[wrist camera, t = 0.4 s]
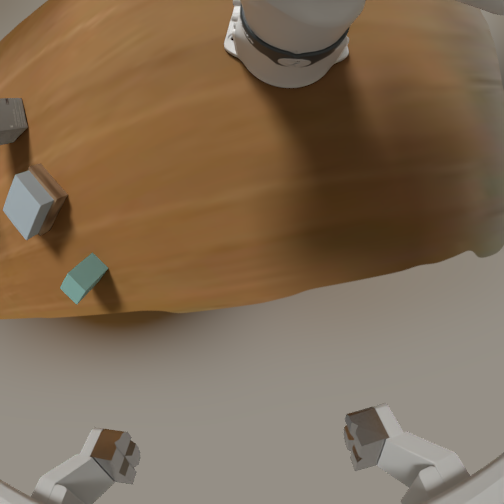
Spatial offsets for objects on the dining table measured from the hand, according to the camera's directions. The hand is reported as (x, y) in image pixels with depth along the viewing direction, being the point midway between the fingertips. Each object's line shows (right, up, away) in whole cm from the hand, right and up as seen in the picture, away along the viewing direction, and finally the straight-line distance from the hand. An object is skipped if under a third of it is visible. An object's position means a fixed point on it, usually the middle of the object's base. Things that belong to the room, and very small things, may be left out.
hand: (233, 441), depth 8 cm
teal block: (-30, +4, +42) cm, 52 cm away
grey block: (-42, +16, +33) cm, 56 cm away
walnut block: (-41, +18, +37) cm, 58 cm away
